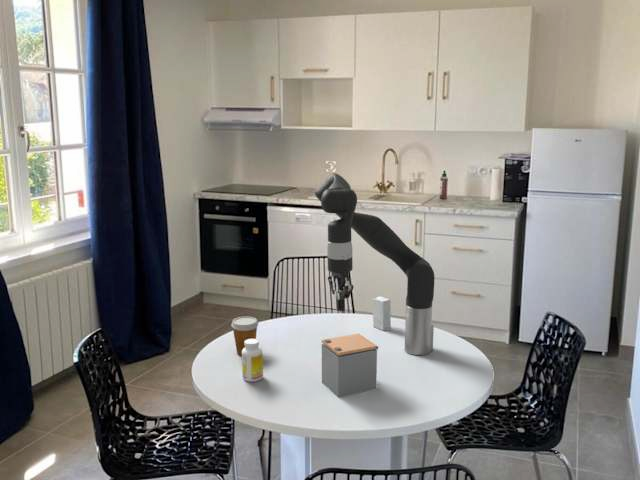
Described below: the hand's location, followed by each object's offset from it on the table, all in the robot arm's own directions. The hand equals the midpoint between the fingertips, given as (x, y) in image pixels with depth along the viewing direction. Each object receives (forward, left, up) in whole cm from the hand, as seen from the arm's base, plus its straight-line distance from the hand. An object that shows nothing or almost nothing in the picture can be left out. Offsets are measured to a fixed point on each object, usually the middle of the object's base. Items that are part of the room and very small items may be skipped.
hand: (340, 309), depth 199 cm
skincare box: (-39, -39, -26) cm, 61 cm away
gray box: (-3, 0, -26) cm, 26 cm away
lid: (-3, 0, -13) cm, 13 cm away
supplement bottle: (+22, -19, -26) cm, 39 cm away
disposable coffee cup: (+17, -40, -26) cm, 51 cm away
